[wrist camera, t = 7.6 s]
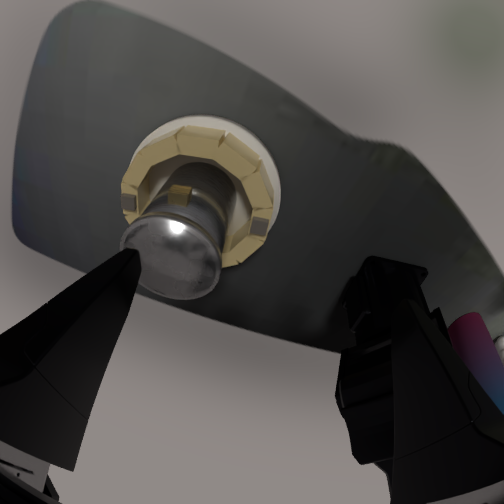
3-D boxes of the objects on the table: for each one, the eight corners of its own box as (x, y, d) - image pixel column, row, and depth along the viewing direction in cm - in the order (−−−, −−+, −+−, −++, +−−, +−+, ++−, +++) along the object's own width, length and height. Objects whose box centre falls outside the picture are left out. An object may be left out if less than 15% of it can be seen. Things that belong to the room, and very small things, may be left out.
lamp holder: (297, 130, 17) (300, 148, 15) (264, 258, 24) (260, 290, 22) (134, 107, 17) (107, 122, 14) (138, 233, 24) (121, 261, 21)
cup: (431, 339, 30) (454, 451, 19) (462, 304, 26) (500, 426, 14) (465, 341, 30) (489, 440, 19) (495, 309, 26) (531, 414, 15)
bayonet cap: (233, 238, 22) (215, 313, 16) (164, 225, 22) (127, 292, 16) (246, 160, 18) (227, 222, 12) (164, 147, 18) (113, 202, 12)
